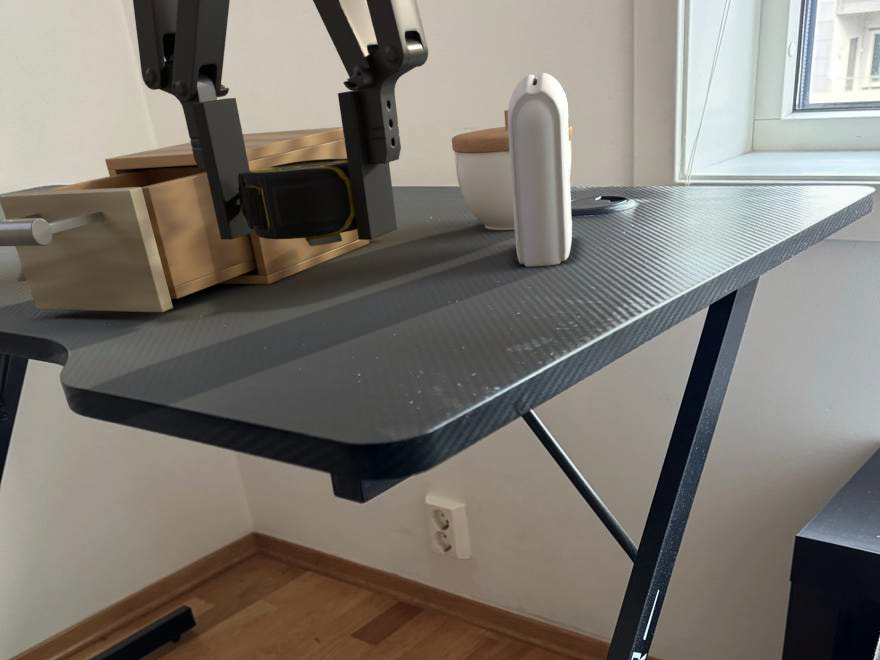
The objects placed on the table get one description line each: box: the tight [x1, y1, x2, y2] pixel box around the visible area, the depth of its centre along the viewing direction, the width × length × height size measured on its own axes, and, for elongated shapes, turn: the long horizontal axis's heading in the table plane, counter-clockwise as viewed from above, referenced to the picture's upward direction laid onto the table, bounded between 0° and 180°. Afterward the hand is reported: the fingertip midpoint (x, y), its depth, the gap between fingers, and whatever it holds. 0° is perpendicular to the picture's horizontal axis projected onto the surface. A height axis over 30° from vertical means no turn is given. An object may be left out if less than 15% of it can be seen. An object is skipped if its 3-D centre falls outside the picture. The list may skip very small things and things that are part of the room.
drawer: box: [0, 165, 257, 313], centre depth 68 cm, size 21×12×8 cm, turn 155°
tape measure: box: [238, 159, 357, 246], centre depth 49 cm, size 7×7×4 cm
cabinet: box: [104, 126, 370, 285], centre depth 79 cm, size 16×14×10 cm
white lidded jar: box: [451, 109, 573, 231], centre depth 84 cm, size 11×11×9 cm
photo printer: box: [507, 72, 573, 268], centre depth 70 cm, size 10×4×12 cm, turn 174°
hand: (307, 233), depth 50 cm, fingers closed on tape measure, 8 cm apart
